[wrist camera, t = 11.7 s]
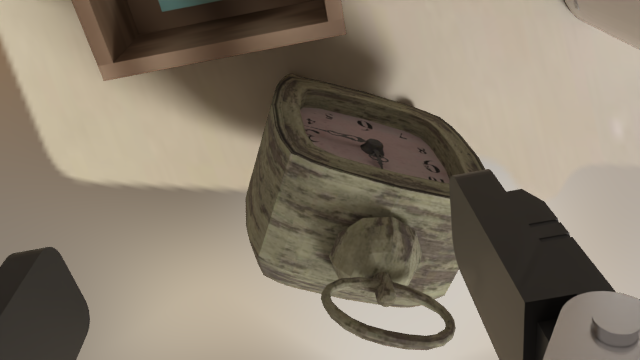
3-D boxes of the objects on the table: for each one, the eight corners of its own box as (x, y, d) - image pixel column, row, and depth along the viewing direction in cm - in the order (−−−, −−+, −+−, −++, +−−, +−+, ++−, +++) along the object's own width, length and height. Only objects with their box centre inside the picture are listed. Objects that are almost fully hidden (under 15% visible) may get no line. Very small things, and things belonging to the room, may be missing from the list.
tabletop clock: (438, 99, 45) (582, 307, 24) (400, 187, 49) (491, 432, 28) (274, 53, 42) (265, 241, 21) (248, 151, 46) (218, 391, 25)
